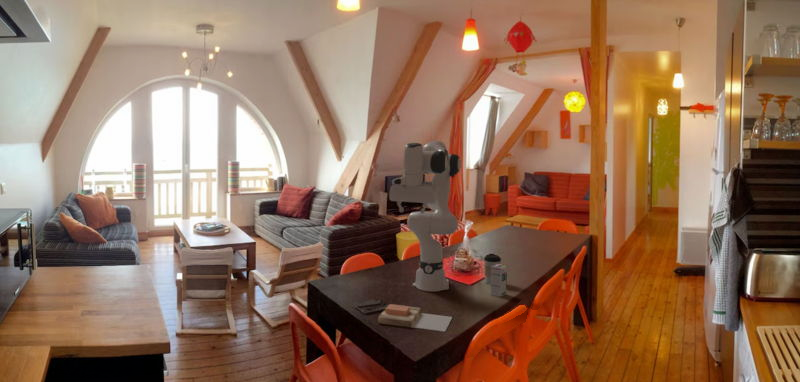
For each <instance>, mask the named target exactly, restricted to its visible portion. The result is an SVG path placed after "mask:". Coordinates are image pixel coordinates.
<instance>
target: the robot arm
mask: <svg viewBox="0 0 800 382" xmlns="http://www.w3.org/2000/svg"><path fill="white" fill-rule="evenodd" d="M402 165H403V171H402V176H399V177H397V178H394V179H392V180H391V184H392V185H391V186H390V189H389V194H388V195H389V197H388V199H389V200H390V201H391V202H396V205H397V206H398V208H399V210H398V211H399V212H400V213H403V212H404V209H405V208H404V207H403V206H402V205H401V204H402V203H403V202H404V203H419V204H420V203H421V204H422V206H423V207H422V208H420V210H419V211H412V212H411V213H409V215H408V217H407V220H406V223H407V224H406V225H407V228H408V229H409V230H410V231H411V232H412V233H413V234H414V235H415V236H416V238H417V240H418V242H419V248H420V259H419V262H418V264H419V265H418V266H419V268H418V269H417V270H416V271H415V272H416V274H415V282H413V283H412V287H416V288H417V289H418V290H420V291H424V292H440V291H447V290H450V287H449V286H450V281H449V279H448V278H446V271H445V269H444V261H443V260H444V259H443V249H444V248H443V246H442V244H441V242H439V241H438V240H436V239H435V238H434V237H433V236H432V234H433V235H444V236H446V235H453V234H454V233H456V231H457V230H458V227H459V222H458V218H457V216H456V215H455V214H453V213H452V212H451V210H450V208H449V197H450V196H449V195H450V192H451V191H450V190H451V179H452V178H453V179H454V177H455V176H456V175H457V174H458V173H459V172H460V170H461V168H462V160H461V157H460V155H458V154H456V153H449V151H448V150H447V147H446V145H445V143H444V142H442V141H441V140H431V141H429V142H427V143H425V144H424V145H423V144H421V143H419V142H413V143H412V142H409V143H407V144H405V146H404V150H403V158H402ZM424 174H427V175H429V174H431V175H433V177H432V179H431V181H427V180H426V181H425V180H424ZM427 207H428V208H429V209H431V210H432V211H425V209H426V208H427Z"/></svg>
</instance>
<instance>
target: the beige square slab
mask: <svg viewBox="0 0 800 382" xmlns="http://www.w3.org/2000/svg"><path fill="white" fill-rule="evenodd" d="M420 313H422V312H421V307H417V306H416V307H413V306H410V311H409V313H408V314H407V315H406V316H402V315H395V314H387V313H385V309H383V311H382V312H381V313H380V315H378V317H377V323H378V324H383V325H391V326H399V327H404V326H405V328H411V326H412V324H413V323H414V322H415V320H416V319H417V317H418V316H419V314H420Z"/></svg>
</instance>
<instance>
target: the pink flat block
mask: <svg viewBox="0 0 800 382" xmlns="http://www.w3.org/2000/svg"><path fill="white" fill-rule="evenodd" d="M410 307H411V306H408V305H401V304H400V305H399V304H392V303H390V304H389V303H388V305H387V308H386V309H384V310H385V313H387V314H395V315H402V316H406V315H407V314H408V313H409V311H410Z"/></svg>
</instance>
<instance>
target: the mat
mask: <svg viewBox="0 0 800 382" xmlns="http://www.w3.org/2000/svg"><path fill="white" fill-rule="evenodd" d="M452 319H453V316H446V315H439V314H432V313H423V312H421V313H420V314H419V316H418V317H417V319H416V320H415V322H414V323H413V324H412V326H411V327H410V328H412V329H421V330H427V331H434V332H442V333H446V332H447V329H448V327H449V325H450V323H451V321H452Z"/></svg>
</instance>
